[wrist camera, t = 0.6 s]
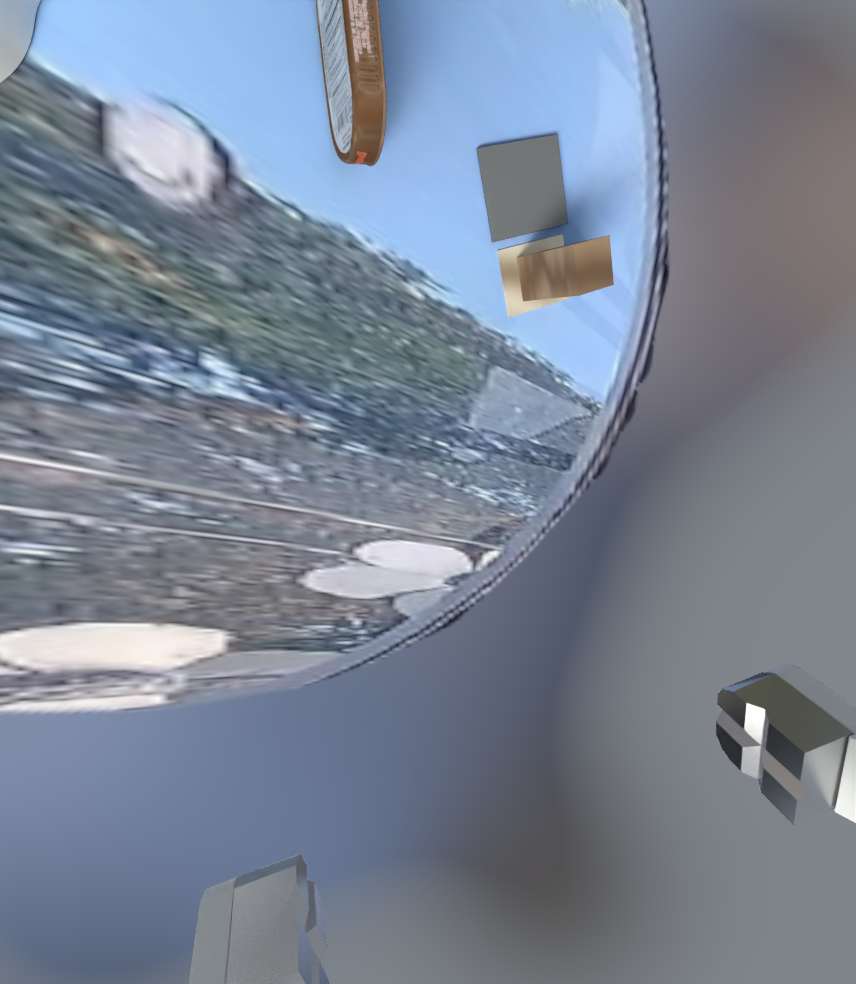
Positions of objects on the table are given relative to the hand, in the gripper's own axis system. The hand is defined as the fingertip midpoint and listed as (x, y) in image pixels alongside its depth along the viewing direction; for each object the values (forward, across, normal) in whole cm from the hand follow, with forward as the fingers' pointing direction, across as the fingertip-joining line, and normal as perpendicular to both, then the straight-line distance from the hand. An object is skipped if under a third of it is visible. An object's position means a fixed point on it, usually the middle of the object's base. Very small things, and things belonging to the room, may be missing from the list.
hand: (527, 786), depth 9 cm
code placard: (+51, -26, -6) cm, 58 cm away
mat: (+51, -26, -15) cm, 59 cm away
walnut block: (+51, -26, -6) cm, 58 cm away
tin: (+48, -7, -25) cm, 55 cm away
